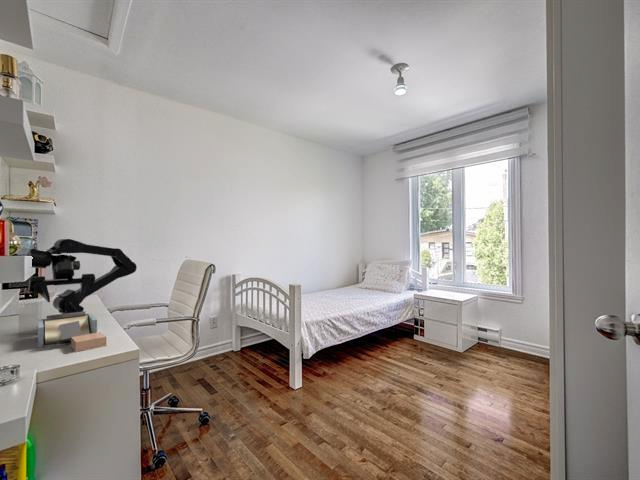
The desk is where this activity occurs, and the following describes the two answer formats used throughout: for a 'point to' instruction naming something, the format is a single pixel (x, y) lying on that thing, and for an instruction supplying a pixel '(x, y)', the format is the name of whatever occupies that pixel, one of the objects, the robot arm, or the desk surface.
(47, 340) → the trapdoor
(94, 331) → the trapdoor frame
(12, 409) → the desk surface
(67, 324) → the grey upright block
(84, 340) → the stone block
